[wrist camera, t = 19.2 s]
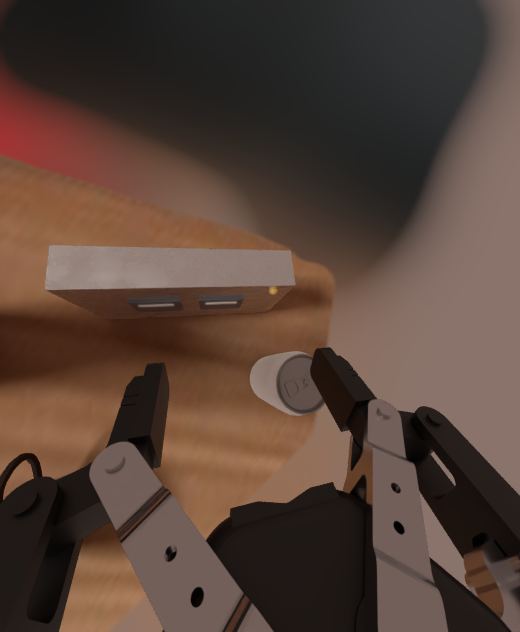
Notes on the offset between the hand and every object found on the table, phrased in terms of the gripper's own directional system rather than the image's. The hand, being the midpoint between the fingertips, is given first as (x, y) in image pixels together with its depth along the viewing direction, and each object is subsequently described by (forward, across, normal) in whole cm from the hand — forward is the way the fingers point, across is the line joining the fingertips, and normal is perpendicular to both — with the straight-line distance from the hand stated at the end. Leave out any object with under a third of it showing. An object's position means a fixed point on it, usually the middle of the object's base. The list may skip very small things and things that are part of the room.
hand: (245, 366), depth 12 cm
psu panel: (+21, +4, +8) cm, 23 cm away
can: (+13, -7, +16) cm, 22 cm away
